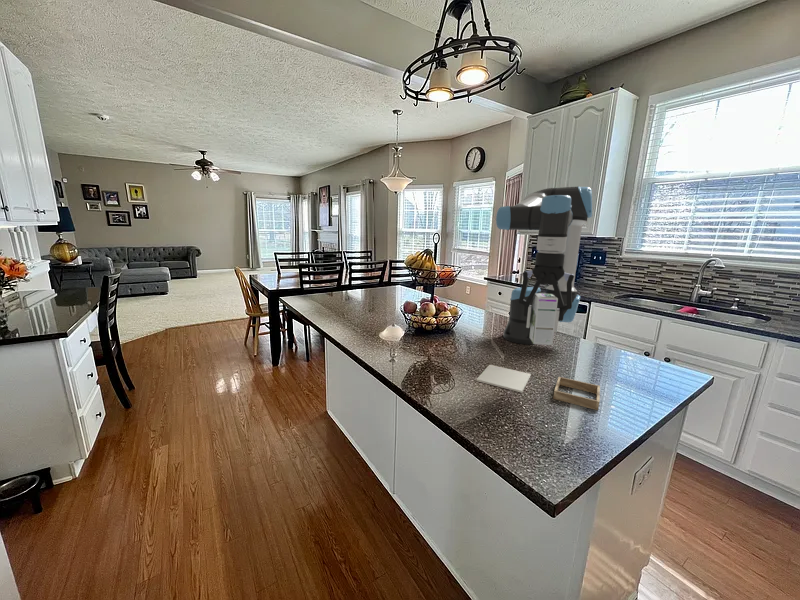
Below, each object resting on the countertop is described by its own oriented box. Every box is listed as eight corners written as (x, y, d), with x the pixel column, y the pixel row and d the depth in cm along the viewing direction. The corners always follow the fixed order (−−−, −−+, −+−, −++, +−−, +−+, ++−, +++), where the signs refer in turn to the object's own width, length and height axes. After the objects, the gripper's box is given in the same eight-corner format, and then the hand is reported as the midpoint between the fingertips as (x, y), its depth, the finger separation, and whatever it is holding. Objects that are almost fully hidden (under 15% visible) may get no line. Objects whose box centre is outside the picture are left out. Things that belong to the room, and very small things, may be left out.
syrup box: (553, 345, 96) (559, 297, 92) (532, 344, 97) (537, 296, 93) (547, 339, 101) (553, 293, 98) (528, 337, 102) (533, 292, 99)
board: (489, 366, 116) (489, 364, 116) (530, 375, 109) (530, 374, 109) (476, 381, 104) (476, 379, 104) (521, 392, 97) (522, 391, 97)
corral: (557, 383, 104) (558, 376, 103) (598, 393, 98) (599, 385, 97) (553, 398, 94) (554, 390, 94) (598, 410, 88) (599, 401, 88)
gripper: (511, 251, 95) (505, 326, 100) (590, 254, 85) (578, 338, 90) (516, 249, 101) (510, 320, 106) (590, 252, 92) (579, 330, 97)
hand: (541, 328), depth 98 cm, fingers closed on syrup box, 7 cm apart
